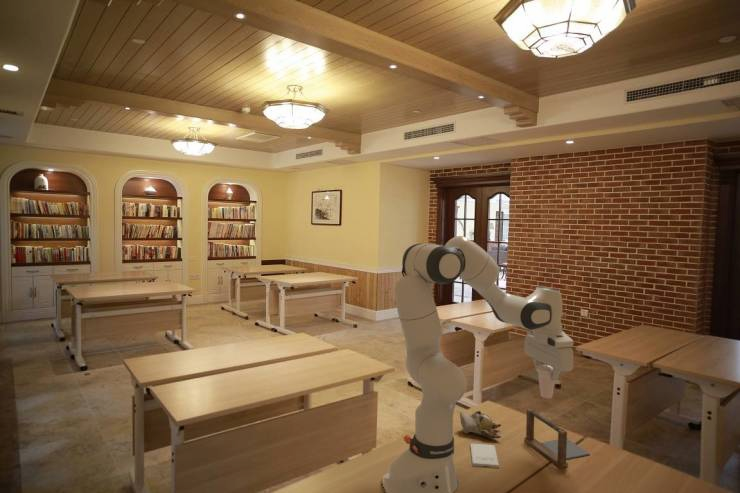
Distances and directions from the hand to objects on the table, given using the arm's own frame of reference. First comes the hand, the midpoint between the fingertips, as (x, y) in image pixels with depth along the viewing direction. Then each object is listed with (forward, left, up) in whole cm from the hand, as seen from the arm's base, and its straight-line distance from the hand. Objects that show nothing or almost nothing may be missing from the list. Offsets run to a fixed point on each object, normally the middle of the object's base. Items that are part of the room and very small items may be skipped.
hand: (546, 376), depth 149 cm
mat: (+8, 0, -27) cm, 28 cm away
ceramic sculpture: (-14, +18, -27) cm, 35 cm away
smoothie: (0, 0, -7) cm, 7 cm away
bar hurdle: (0, 0, -27) cm, 27 cm away
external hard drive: (-21, +4, -27) cm, 35 cm away
